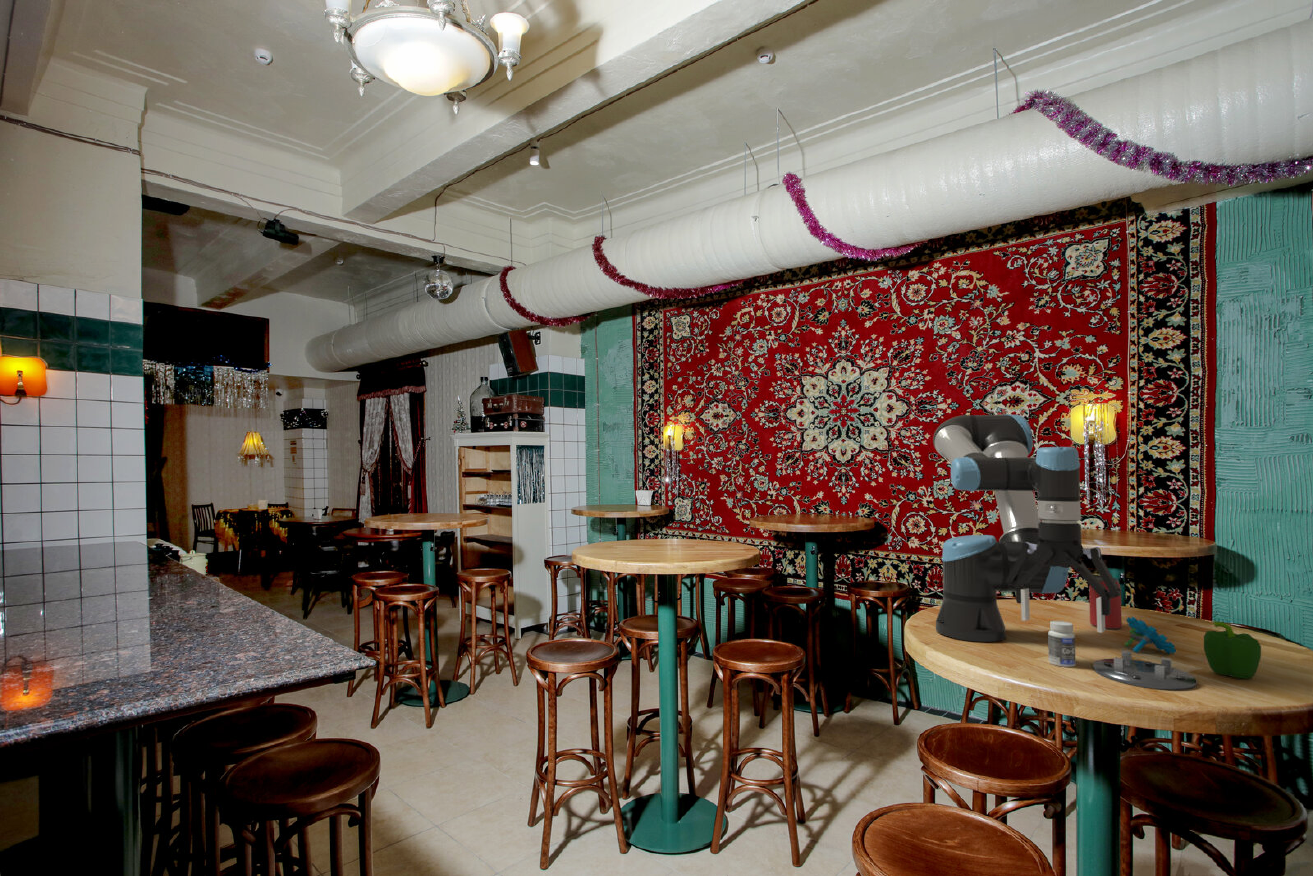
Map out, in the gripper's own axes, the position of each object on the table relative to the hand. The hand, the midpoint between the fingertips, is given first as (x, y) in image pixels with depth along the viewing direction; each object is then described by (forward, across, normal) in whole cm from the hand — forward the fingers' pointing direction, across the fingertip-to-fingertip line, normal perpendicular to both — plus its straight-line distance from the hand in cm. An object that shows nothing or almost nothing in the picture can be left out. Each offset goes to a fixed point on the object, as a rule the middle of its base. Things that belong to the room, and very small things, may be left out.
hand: (1062, 625), depth 133 cm
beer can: (+8, -1, +42) cm, 42 cm away
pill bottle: (+8, 0, 0) cm, 8 cm away
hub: (+8, +13, +4) cm, 15 cm away
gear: (+8, +10, +23) cm, 27 cm away
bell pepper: (+8, +25, +16) cm, 31 cm away
